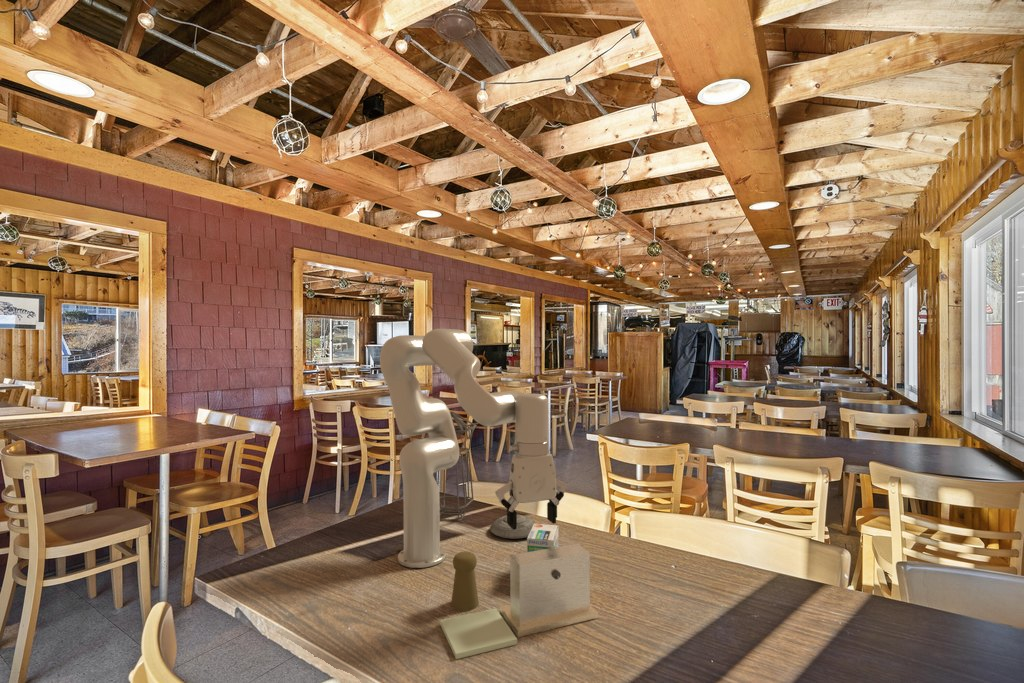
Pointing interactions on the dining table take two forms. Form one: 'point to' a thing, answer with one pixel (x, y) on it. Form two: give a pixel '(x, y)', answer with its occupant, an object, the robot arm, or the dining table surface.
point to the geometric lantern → (462, 424)
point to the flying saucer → (506, 531)
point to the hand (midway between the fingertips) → (532, 524)
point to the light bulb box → (543, 537)
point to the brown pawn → (464, 582)
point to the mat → (477, 633)
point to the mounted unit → (549, 589)
